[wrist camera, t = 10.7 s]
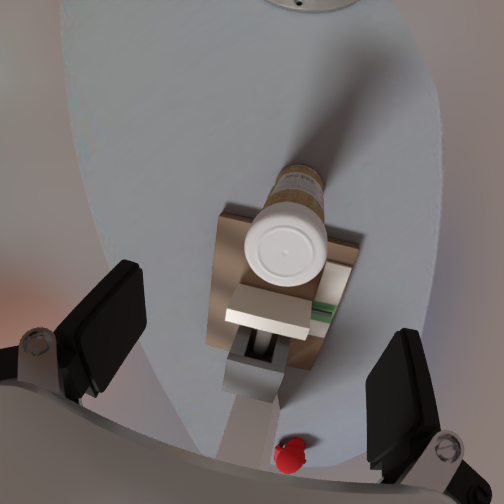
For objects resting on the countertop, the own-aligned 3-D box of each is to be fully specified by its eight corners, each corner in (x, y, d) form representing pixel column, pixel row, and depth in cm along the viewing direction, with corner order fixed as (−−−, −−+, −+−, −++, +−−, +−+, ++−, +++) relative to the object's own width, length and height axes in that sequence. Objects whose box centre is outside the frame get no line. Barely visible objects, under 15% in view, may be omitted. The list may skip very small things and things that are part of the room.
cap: (300, 468, 49) (311, 475, 43) (271, 471, 47) (280, 479, 42) (299, 433, 52) (311, 437, 47) (271, 436, 51) (280, 440, 46)
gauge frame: (222, 211, 30) (194, 244, 24) (358, 244, 29) (367, 286, 22) (208, 338, 39) (189, 380, 33) (311, 363, 38) (306, 410, 31)
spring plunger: (238, 283, 32) (226, 308, 28) (333, 306, 31) (334, 333, 27) (230, 327, 35) (220, 353, 31) (316, 348, 34) (314, 376, 30)
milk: (245, 407, 46) (207, 525, 27) (238, 386, 43) (193, 516, 24) (281, 410, 44) (252, 534, 25) (277, 388, 42) (244, 527, 22)
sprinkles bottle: (267, 195, 29) (229, 266, 17) (289, 154, 26) (264, 197, 15) (309, 218, 29) (300, 302, 17) (333, 178, 27) (344, 240, 15)
